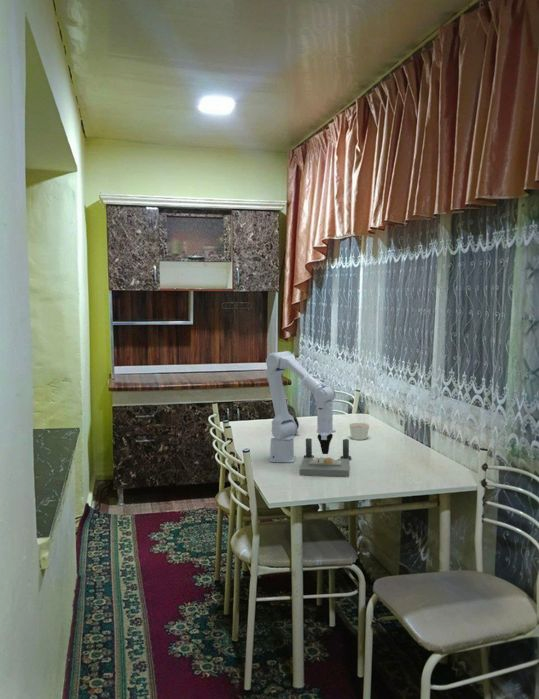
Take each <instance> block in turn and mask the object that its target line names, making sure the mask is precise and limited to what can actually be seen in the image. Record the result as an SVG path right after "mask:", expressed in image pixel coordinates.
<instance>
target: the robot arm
mask: <svg viewBox="0 0 539 699" xmlns="http://www.w3.org/2000/svg"><path fill="white" fill-rule="evenodd" d="M265 363H266V376H267V381H268V386H269V390H270V395H271V400H272V401H271V402H272V404H273V405H272V406H273V410H274V417H273V419H272V421H271V434H272V435H271V436H272V437H271V438H270V443H269V444H270V448H269V450H270V460H269V461H271V463H295V460H296V458H297V457H296V455H295V453H294V450H295V449H294V448H295V446H294V438H295V436H296V434H297V432H298V430H297V425H296V423H295V421H294V418H293V416H291V415H290V414H289V413H288V408H287V404H288V403H287V399H286V395H285V389H284V384H283V379H282V375H283V374H284V371H286V370H290V371H291V372H292V373H293V374H295V375H296V376H297V377H299V379H300V380H302V385H303V386H304V387H305V388H306V389H307V390H308V391H309V392H310V393H311V394H312V395H313V398H314V401H315V404H316V408H317V411H316V412H317V414H316V416H317V420H316V422H317V429H316V433H318V434H317V440H318V442H319V445H320V448H321V449H320V450H321V453H322V455H328V454H329V451H330V446H331V445H330V444H331V442H332V439H333V436H334V435H333V433H337V432H336V430H337V429H333V428H334V426H333V401H334V400H335V398H336V391H335V389H334V387H332V386H331V385H326V383H324V382H322V381H321V379H319V377H318V376H317V375H316V374H314V373H309V372H308V371H307V370H306V369H305V368H304V367H303V366H302V365H301V364H300V362H298V361H297V359H296V356H295V354H293V353H292V352H291V351H289V350H284V351H278V352H271V353H269V354H268V355H267V357H266V358H265ZM283 421H285V422H283Z"/></svg>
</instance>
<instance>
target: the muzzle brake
mask: <svg viewBox="0 0 539 699" xmlns="http://www.w3.org/2000/svg"><path fill="white" fill-rule="evenodd" d="M287 408H288V413H289V414H290V415H291V416H293V418H294V421H295V423H296V425H297V431H298V430H299V425H300V424H299V421H298V418H297V414H296V410H295V408H294V407H293V406H292V405H290V404H288V403H287ZM283 422H285V421H283Z"/></svg>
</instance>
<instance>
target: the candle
mask: <svg viewBox="0 0 539 699" xmlns="http://www.w3.org/2000/svg"><path fill="white" fill-rule="evenodd" d="M348 425H349V431H350V436H351V439H353V440H355V441H365V440H367V439H368V434H369V429H370V424H369V423H365V422H352V423H349V424H348ZM364 439H365V440H364Z"/></svg>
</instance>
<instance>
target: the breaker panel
mask: <svg viewBox="0 0 539 699" xmlns="http://www.w3.org/2000/svg"><path fill="white" fill-rule="evenodd" d="M301 475H304V476H303V477H305V476H306V477H311V476H312V477H337V478H339V477H340V478H341V477H342V478H349V477H350V461H349V459H340V458H338V457H317V456H314V457H313V458H304V457H303V458H302V461H301V464H300V467H299V476H301Z"/></svg>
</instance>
